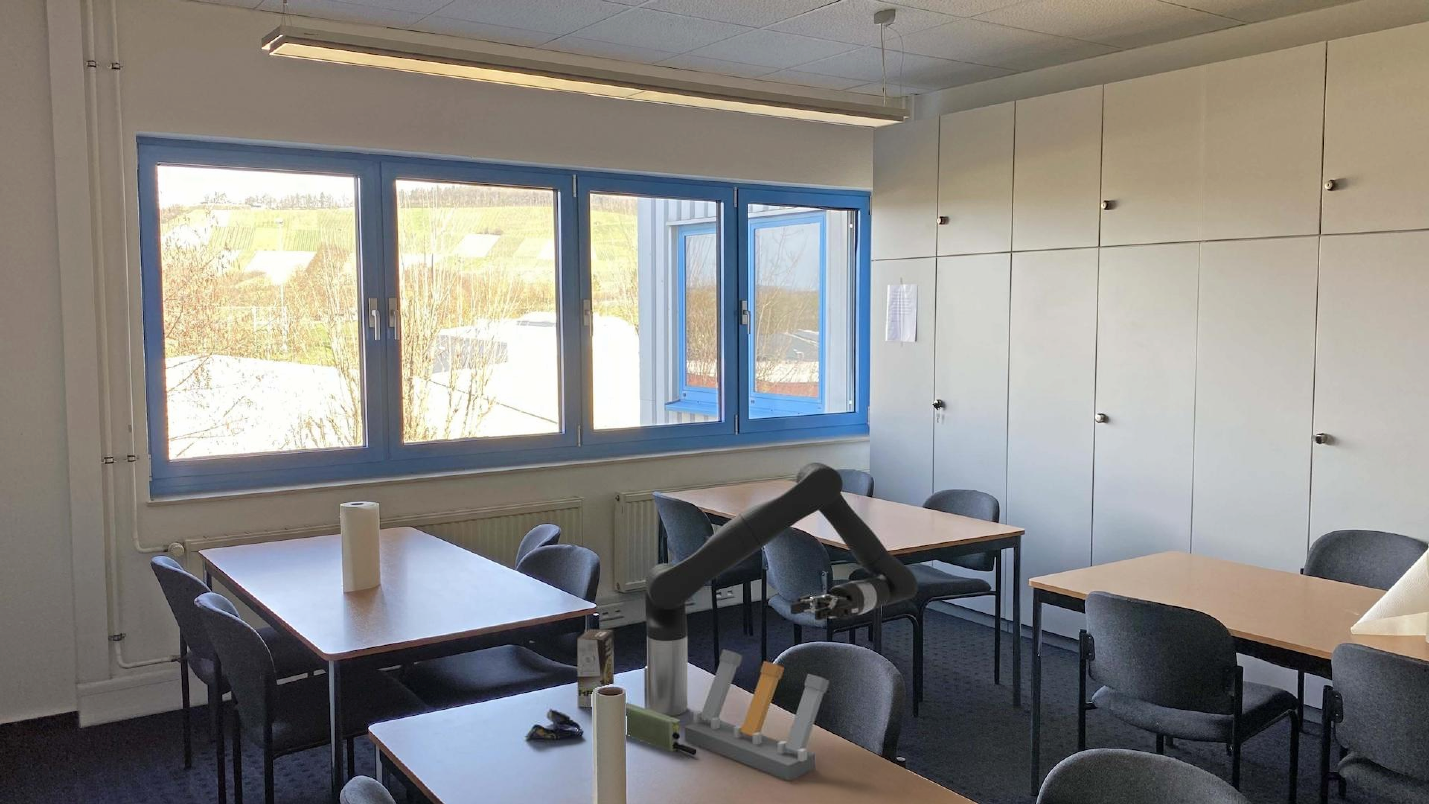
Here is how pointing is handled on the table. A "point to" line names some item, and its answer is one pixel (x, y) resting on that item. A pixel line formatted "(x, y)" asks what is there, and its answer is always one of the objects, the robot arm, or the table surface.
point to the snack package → (555, 727)
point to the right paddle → (806, 712)
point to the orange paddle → (762, 698)
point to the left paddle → (721, 684)
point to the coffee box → (594, 663)
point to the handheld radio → (654, 728)
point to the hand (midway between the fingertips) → (804, 612)
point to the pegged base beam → (749, 748)
